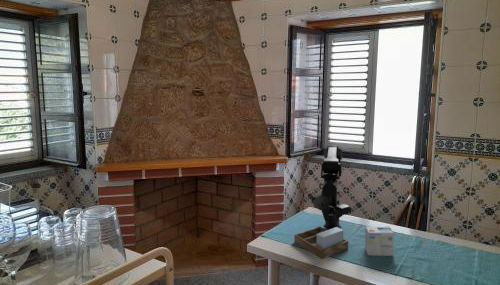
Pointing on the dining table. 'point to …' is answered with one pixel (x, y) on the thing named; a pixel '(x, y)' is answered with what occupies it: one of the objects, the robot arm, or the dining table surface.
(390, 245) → the light bulb box
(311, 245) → the rack
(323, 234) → the white rectangular box
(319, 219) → the dining table surface
